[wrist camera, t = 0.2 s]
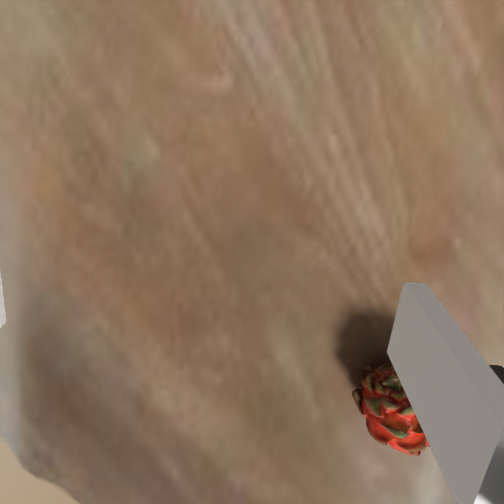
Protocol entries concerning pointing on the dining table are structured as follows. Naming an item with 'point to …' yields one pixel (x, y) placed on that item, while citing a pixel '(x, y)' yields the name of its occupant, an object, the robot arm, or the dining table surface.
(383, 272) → the dining table surface
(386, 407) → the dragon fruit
